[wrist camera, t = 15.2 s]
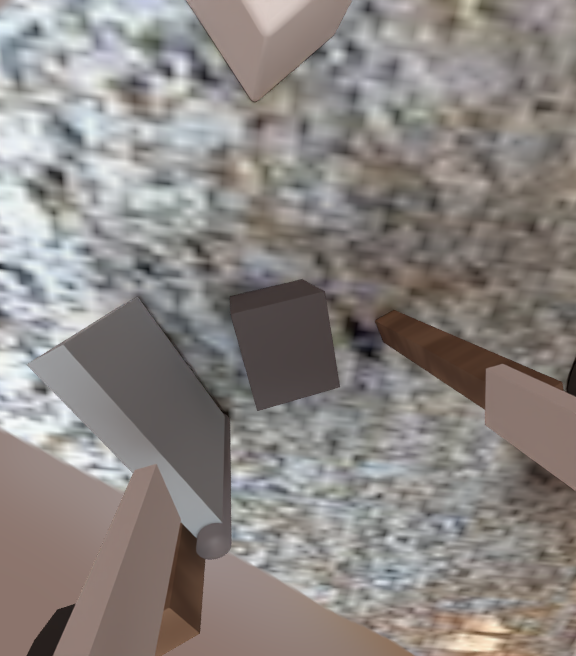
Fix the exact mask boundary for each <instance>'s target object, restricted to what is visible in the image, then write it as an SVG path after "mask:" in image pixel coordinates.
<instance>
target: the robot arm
mask: <svg viewBox="0 0 576 656" xmlns="http://www.w3.org/2000/svg"><path fill="white" fill-rule="evenodd" d="M485 425H486V426H487V427H489V428H490V429H491V430H493V431H494V432H495V433H497V434H498V435H500V436H501V437H502V438H504V439H505V440H506V441H508V442H509V443H510V444H512V445H513V446H515V447H516V448H517V449H519V450H520V451H521V452H523V453H524V454H526V455H527V456H528V457H530V458H531V459H532V460H534V461H535V462H537V463H538V464H539V465H541V466H542V467H543V468H545V469H546V470H547V471H549V472H550V473H552V474H553V475H554V476H556V477H557V478H558V479H560V480H561V481H563V482H564V483H565V484H567V485H568V486H569V487H571V488H572V489H574V490H575V491H576V363H575V365H574V368H573V371H572V373H571V377H570V381H569V386H568V393H566V392H564V391H562V390H560V389H557V388H555V387H553V386H551V385H549V384H546V383H544V382H542V381H540V380H537V379H535V378H533V377H531V376H529V375H526V374H524V373H522V372H520V371H518V370H515V369H513V368H511V367H509V366H507V365H504V364H500V365H497V366H493V367H490V368H486V393H485ZM180 523H181V518H180V516H179V514H178V511H177V509H176V507H175V505H174V502H173V500H172V498H171V495H170V493H169V491H168V489H167V486H166V484H165V482H164V479H163V477H162V475H161V473H160V470H159V468H158V466H157V464H154V465H150V466H147V467H143V468H140V469H137V470H134V473H133V475H132V477H131V479H130V482H129V484H128V486H127V488H126V491H125V493H124V495H123V498H122V500H121V502H120V504H119V507H118V509H117V511H116V513H115V516H114V518H113V520H112V523H111V525H110V527H109V529H108V532H107V534H106V536H105V538H104V541H103V543H102V546H101V548H100V550H99V552H98V554H97V557H96V559H95V561H94V563H93V566H92V568H91V570H90V573H89V575H88V577H87V580H86V582H85V584H84V586H83V588H82V591H81V593H80V595H79V598H78V600H77V602H76V604H73V605H70V606H67V607H64V608H61V609H58V610H57V611H56V612H55V613H54V615H53V616H52V617H51V619H50V620H49V621H48V623H47V624H46V625H45V627H44V628H43V629H42V631H41V632H40V634H39V635H38V636H37V638H36V639H35V640H34V642H33V644H32V646H31V648H30V650H29V652H28V654H27V656H155V652H156V647H157V641H158V636H159V631H160V626H161V621H162V616H163V610H164V605H165V600H166V595H167V590H168V585H169V579H170V574H171V569H172V564H173V559H174V554H175V548H176V543H177V538H178V533H179V528H180Z"/></svg>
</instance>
